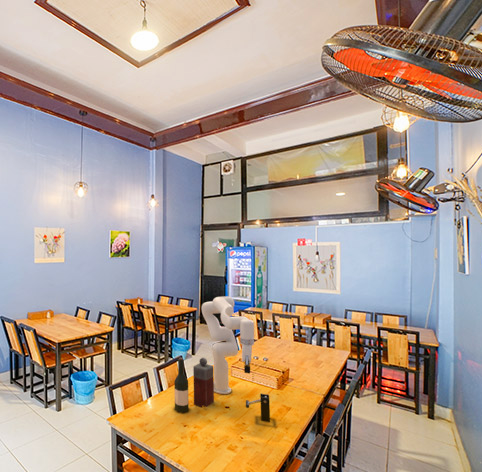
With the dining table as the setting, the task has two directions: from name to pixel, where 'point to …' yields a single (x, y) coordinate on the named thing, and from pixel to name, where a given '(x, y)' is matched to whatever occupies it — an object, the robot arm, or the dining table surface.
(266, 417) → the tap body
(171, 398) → the dining table surface
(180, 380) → the wine bottle
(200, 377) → the square decanter
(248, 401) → the faucet lever
